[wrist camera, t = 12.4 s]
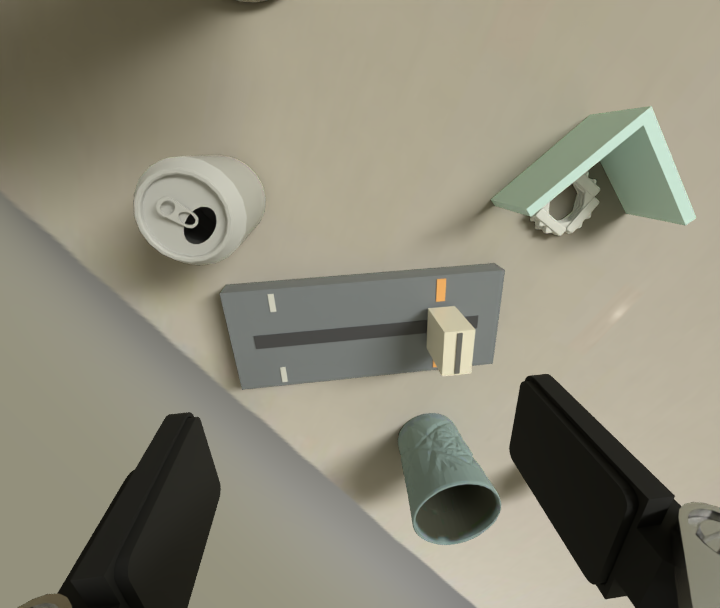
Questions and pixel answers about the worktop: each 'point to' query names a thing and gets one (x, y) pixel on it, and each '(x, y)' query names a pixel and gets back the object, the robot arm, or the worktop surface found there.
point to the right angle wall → (621, 163)
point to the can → (198, 207)
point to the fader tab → (450, 340)
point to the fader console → (354, 322)
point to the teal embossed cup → (444, 482)
